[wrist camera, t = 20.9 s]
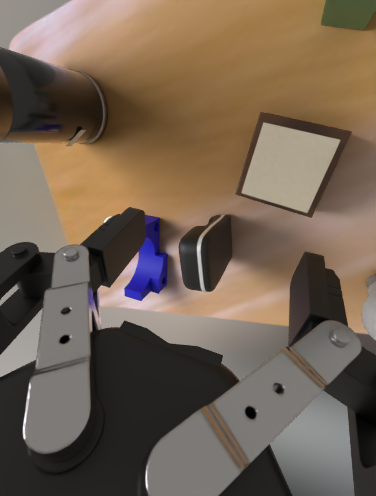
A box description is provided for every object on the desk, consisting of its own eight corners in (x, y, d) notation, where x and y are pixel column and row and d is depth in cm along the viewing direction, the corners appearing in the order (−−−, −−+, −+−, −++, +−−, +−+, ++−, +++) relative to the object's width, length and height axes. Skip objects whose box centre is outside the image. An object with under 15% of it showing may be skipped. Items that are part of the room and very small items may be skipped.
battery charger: (205, 212, 36) (171, 238, 27) (230, 212, 35) (205, 239, 25) (208, 257, 39) (179, 295, 29) (233, 258, 37) (210, 299, 28)
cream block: (245, 188, 30) (241, 193, 27) (266, 124, 26) (263, 122, 24) (306, 206, 28) (307, 213, 25) (336, 140, 25) (340, 139, 22)
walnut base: (240, 189, 33) (235, 194, 30) (264, 114, 29) (260, 111, 26) (310, 210, 31) (311, 217, 28) (345, 132, 27) (352, 131, 24)
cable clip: (166, 284, 44) (149, 303, 39) (144, 278, 45) (124, 296, 40) (168, 219, 39) (148, 230, 34) (143, 214, 40) (120, 225, 35)
